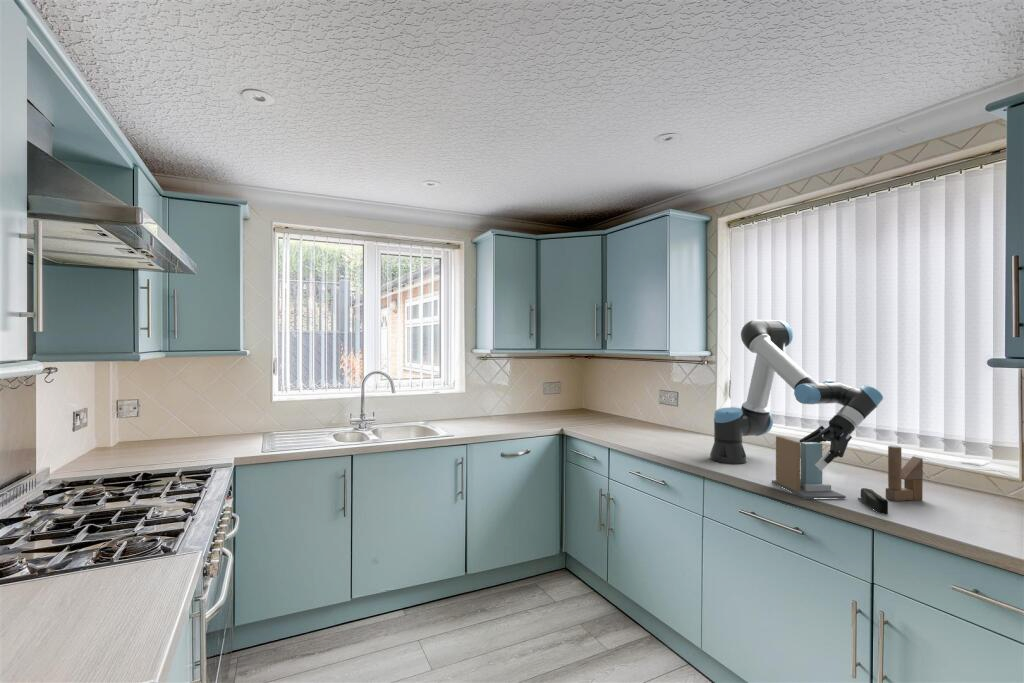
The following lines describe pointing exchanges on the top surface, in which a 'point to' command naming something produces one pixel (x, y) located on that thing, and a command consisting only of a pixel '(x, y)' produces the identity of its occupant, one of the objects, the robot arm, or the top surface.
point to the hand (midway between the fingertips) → (804, 463)
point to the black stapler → (874, 500)
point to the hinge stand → (796, 472)
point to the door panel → (810, 463)
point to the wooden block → (904, 477)
